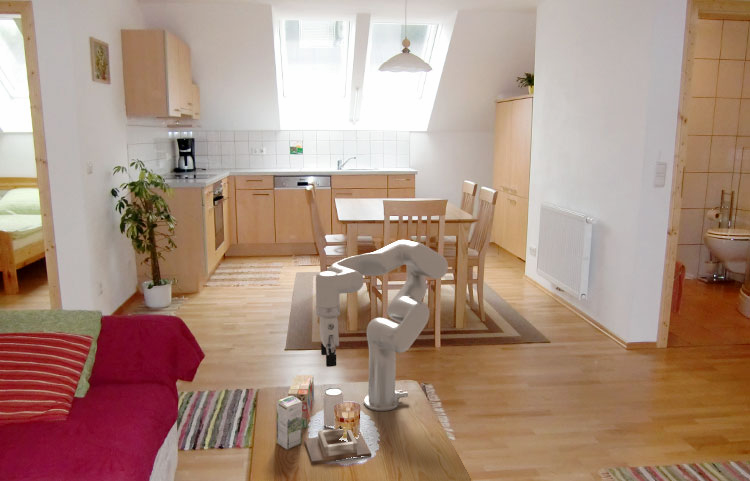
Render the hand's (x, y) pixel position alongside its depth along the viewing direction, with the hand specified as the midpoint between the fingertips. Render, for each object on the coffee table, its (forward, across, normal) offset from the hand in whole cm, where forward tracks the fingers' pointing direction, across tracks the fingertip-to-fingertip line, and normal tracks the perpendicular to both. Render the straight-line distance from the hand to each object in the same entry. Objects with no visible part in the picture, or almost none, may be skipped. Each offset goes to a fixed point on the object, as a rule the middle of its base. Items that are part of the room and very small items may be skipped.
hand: (328, 360), depth 190 cm
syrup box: (+22, -10, +14) cm, 28 cm away
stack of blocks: (+23, +10, +8) cm, 26 cm away
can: (+23, -1, -1) cm, 23 cm away
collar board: (+22, -16, 0) cm, 28 cm away
